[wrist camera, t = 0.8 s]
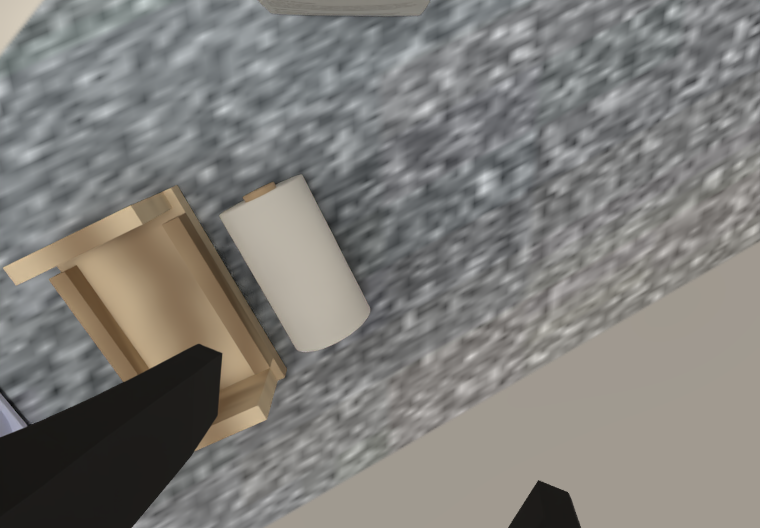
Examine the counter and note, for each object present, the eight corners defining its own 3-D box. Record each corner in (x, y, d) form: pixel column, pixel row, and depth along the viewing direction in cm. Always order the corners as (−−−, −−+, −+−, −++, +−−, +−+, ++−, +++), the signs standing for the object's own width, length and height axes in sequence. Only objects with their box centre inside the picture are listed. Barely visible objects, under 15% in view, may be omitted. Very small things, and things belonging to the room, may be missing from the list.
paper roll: (370, 298, 30) (374, 332, 25) (301, 329, 30) (292, 368, 26) (303, 164, 27) (293, 175, 23) (228, 200, 28) (204, 218, 23)
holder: (177, 417, 32) (146, 472, 27) (55, 244, 28) (-7, 272, 23) (286, 369, 31) (275, 415, 26) (177, 185, 27) (139, 200, 22)
